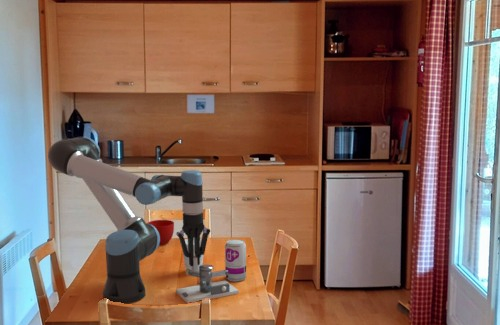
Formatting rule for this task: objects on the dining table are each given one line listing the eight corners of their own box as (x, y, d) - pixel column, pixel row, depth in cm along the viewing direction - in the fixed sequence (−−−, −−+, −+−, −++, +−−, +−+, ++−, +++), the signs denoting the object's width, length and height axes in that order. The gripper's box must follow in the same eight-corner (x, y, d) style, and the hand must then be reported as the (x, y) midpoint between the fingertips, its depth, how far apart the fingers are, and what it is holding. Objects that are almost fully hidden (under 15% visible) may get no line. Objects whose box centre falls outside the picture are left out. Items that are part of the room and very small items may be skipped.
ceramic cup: (140, 248, 265) (139, 228, 263) (152, 239, 281) (152, 219, 280) (167, 250, 263) (166, 229, 261) (177, 240, 279) (177, 220, 278)
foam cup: (201, 276, 227) (200, 245, 225) (179, 275, 229) (178, 244, 227) (207, 268, 236) (207, 238, 234) (186, 267, 238) (185, 237, 236)
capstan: (202, 300, 198) (202, 276, 197) (171, 292, 206) (170, 268, 205) (229, 286, 212) (229, 263, 210) (199, 279, 220) (198, 257, 218)
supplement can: (238, 283, 219) (238, 245, 217) (221, 279, 223) (220, 242, 221) (250, 277, 226) (249, 240, 223) (232, 273, 230) (232, 237, 228)
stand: (188, 304, 199) (187, 292, 198) (175, 292, 210) (175, 281, 210) (239, 294, 208) (239, 283, 207) (225, 283, 219) (225, 272, 218)
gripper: (205, 208, 215) (207, 267, 219) (172, 212, 209) (175, 273, 213) (213, 212, 208) (214, 273, 212) (179, 216, 203) (181, 279, 206)
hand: (194, 273), depth 213 cm, fingers closed
